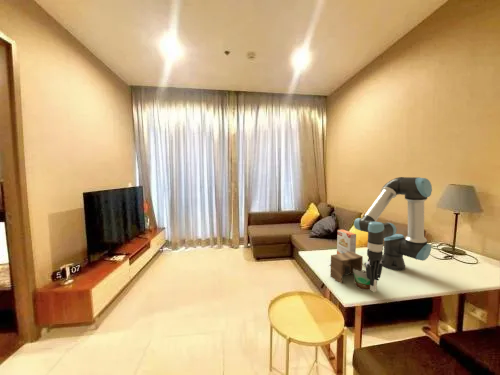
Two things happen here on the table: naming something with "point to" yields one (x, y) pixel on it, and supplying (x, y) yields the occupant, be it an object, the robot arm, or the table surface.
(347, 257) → the walnut shelf
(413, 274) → the table surface
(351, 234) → the cracker box
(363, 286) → the food container
